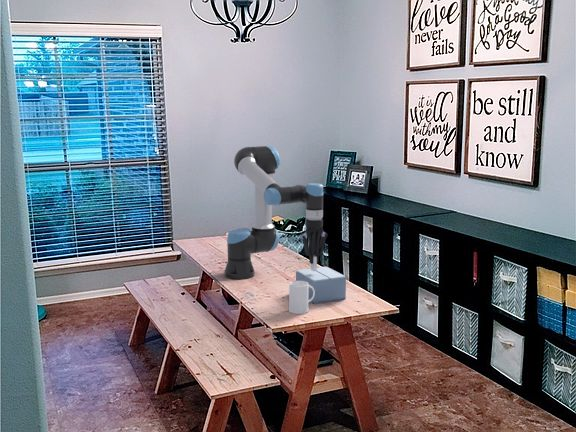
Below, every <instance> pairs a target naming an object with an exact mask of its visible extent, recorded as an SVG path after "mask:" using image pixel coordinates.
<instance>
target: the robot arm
mask: <svg viewBox="0 0 576 432" xmlns="http://www.w3.org/2000/svg"><path fill="white" fill-rule="evenodd" d="M233 164H234V167H235V169H236V171H237V172H238V173H239V174H241V175H243V176H245V177H246V178H248V179H249V180H250V181H251V183H252V184H254V223H253V224H252V225H251V229H250V228H247V227H243V228H242V227H240V228H235V229H232V230H230V231H229V232H228V233H227V239H226V240H227V241H226V242H227V262H226V265H225V268H224V277H225V278H227V279H232V280H243V279H244V280H246V279H250V278H253V277H255V269H254V266H253V262H252V257H251V256H252V254H259V253H268V252H271V251H274V250H275V249H276V248H278V246H279V242H280V235H279V231H278V229H276V228H275V224H273V221H272V216H273V206H278V205H279V206H280V205H287V204H290V205H291V204H298V203H299V204H300V203H303V204H305V218H306V219H305V230H304V233H303V234H300V236H299V237H300V239H301V240H302V244H303V250H304V254H305V255H306V256H308V257H309V262H308V263H309V264H310V269H311V270H312V271H317V268H318V267H317V266H318V264H319V257H320V256H321V255H323V253H324V247H325V243H326V240H327V238H328V236H329V234H328V233H327V232H325V231H324V227H323V226H324V219H323V217H324V185H323V184H322V183H316V182H311V183H307V184H306V185H302V184H294V185H293V186H280V185H279V184H278V183H277V182H276V181H275V180H274V179H273V176H274V175H275V174H276V170H277V169H279V167H280V165H281V158H280V154H279V151H278V150H277V149H276V148H275V147H274V146H272V145H271V146H270V145H269V146H268V145H263V146H262V145H261V146H246V147H243V148H240V149H239V150H238V151H237V152H236V153H235V156H234V159H233ZM307 238H308V239H307Z"/></svg>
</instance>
